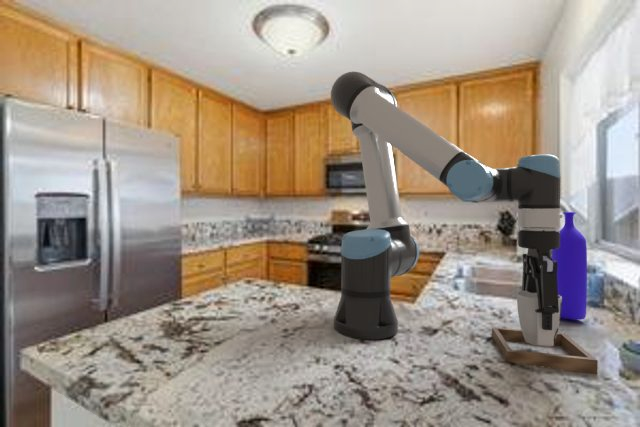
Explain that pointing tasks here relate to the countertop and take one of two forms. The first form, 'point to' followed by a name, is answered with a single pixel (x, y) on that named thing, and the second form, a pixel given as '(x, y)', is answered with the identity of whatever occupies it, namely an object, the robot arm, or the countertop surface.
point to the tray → (576, 362)
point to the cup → (533, 316)
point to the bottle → (571, 270)
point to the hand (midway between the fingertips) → (538, 337)
